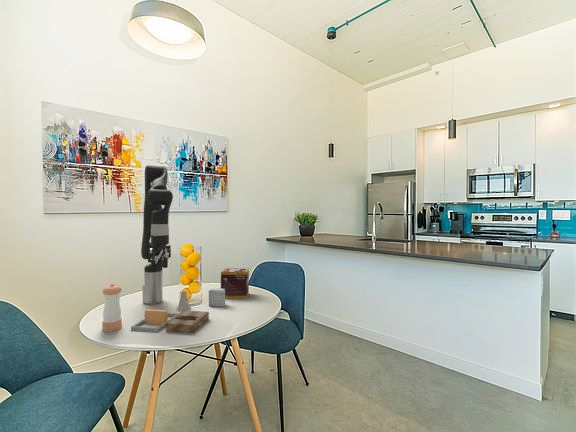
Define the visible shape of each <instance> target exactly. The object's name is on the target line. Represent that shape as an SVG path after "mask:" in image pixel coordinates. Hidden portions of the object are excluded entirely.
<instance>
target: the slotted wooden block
mask: <svg viewBox="0 0 576 432" xmlns="http://www.w3.org/2000/svg"><path fill="white" fill-rule="evenodd" d="M209 313H210V312H209V311H200V310H188V311H186V310H184V311H183V312H179V314H178V315H177V316H175V317H174V318H172V317H171V318H172V319H171V318H170V319H171V320H170V321H168V320H167V321H168V322H167V323H166V327H165V333H177V334H178V333H181V334H195V333H196V331H197V330H199V329H200V327H203V326H204V325H205V323H207V322H208V321H209V319H210V317H209V316H210V315H209Z"/></svg>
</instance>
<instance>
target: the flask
mask: <svg viewBox="0 0 576 432" xmlns="http://www.w3.org/2000/svg"><path fill="white" fill-rule="evenodd" d="M179 293H180V297H179V302H178V304H177V307H176V311H177V312H179V313H181V312H183V311H184V310H186V311H191V310H192V307H191V305H190V303H189V300H188V297H187V295H188V294H187V293H188V290H187V291H186V290H182V291H180V292H179Z"/></svg>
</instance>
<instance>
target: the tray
mask: <svg viewBox="0 0 576 432" xmlns="http://www.w3.org/2000/svg"><path fill="white" fill-rule="evenodd" d="M178 314H180V312H179V313H175V312H167V318H168V317H171V318H170V319H167V321H166V322H165V323H163V324H159V325H158V327H151V326H143V325H145V323H144V318H143V319H142V320H140V321H138V322H136V323H134V324H133V325H131V326H130V332H133V331H136V332H137V331H139V332H151V333H159V332H160V331H161V330H163V329H164V328H166V323H167V322H168V321H170V320H171V319H172V318H174V317H175V316H177V315H178Z"/></svg>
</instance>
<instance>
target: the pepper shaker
mask: <svg viewBox="0 0 576 432" xmlns="http://www.w3.org/2000/svg"><path fill="white" fill-rule="evenodd" d="M121 292H122V287H121V286H120V285H117V284H115V283H110V285H107V286H105V287H104V288H103V289H102V294H103V295H104V306H103V313H102V318H103V319H102V325H101V326H102V329H101V330H102V331H104V332H114V331H117V330H120V329H121V328H122V327H123V323H122V322H123V319H122V310H121V308H122V307H121V303H120V293H121Z"/></svg>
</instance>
